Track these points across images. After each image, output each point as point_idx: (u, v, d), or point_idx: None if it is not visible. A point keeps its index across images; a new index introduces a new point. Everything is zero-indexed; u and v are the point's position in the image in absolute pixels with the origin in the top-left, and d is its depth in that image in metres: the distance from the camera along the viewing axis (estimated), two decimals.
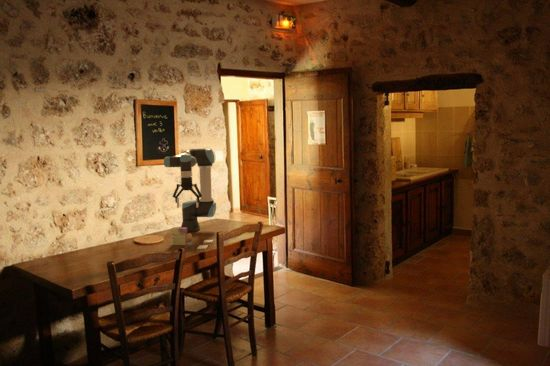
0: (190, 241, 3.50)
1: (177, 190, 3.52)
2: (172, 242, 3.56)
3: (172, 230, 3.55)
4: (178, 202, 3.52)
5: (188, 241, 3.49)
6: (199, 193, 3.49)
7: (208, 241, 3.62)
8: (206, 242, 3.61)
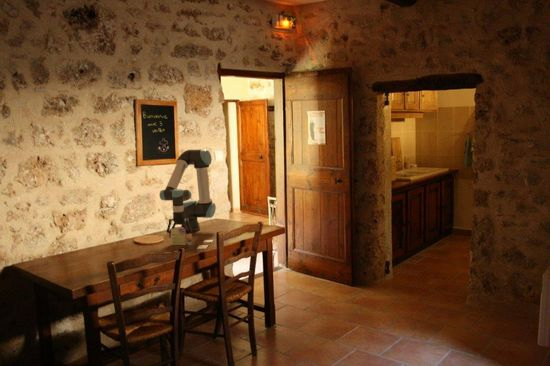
0: (190, 241, 3.50)
1: (170, 225, 3.58)
2: (172, 242, 3.56)
3: (172, 230, 3.55)
4: None
5: (188, 241, 3.49)
6: (189, 228, 3.55)
7: (208, 241, 3.62)
8: (206, 242, 3.61)
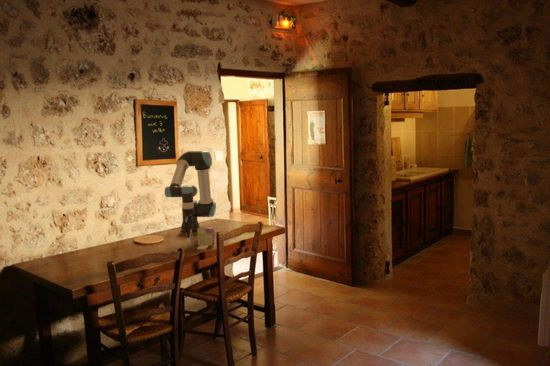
0: None
1: (191, 222, 3.54)
2: (198, 242, 3.54)
3: (198, 230, 3.53)
4: None
5: None
6: (185, 229, 3.45)
7: None
8: None
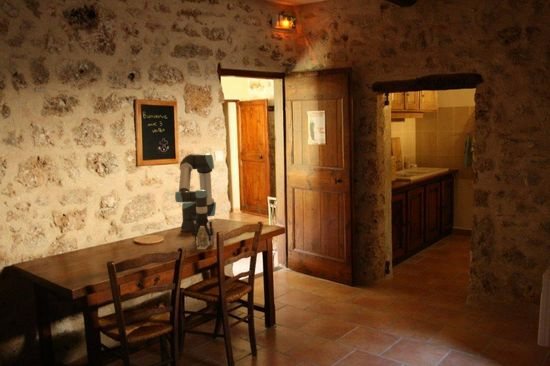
0: (204, 240, 3.48)
1: (194, 227, 3.48)
2: None
3: None
4: (198, 240, 3.48)
5: None
6: (211, 231, 3.45)
7: None
8: None
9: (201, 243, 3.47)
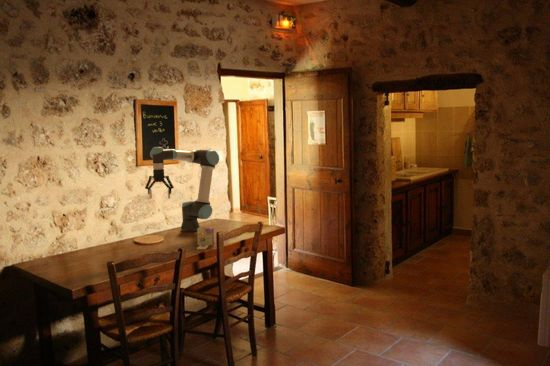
0: None
1: None
2: (198, 242, 3.54)
3: (198, 230, 3.53)
4: (151, 193, 3.63)
5: None
6: (171, 185, 3.59)
7: None
8: None
9: (201, 243, 3.47)
